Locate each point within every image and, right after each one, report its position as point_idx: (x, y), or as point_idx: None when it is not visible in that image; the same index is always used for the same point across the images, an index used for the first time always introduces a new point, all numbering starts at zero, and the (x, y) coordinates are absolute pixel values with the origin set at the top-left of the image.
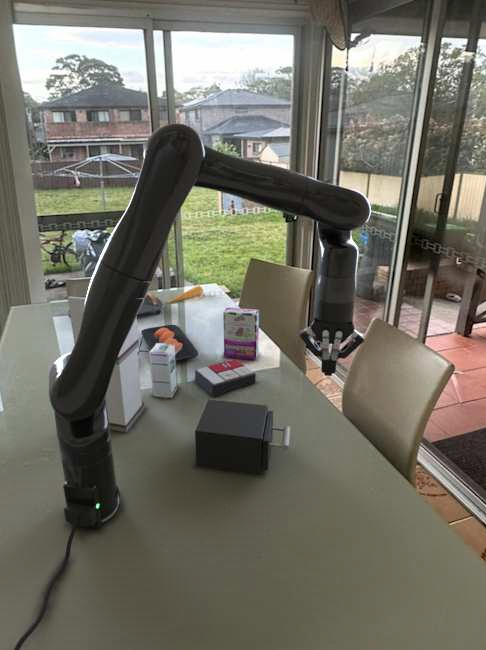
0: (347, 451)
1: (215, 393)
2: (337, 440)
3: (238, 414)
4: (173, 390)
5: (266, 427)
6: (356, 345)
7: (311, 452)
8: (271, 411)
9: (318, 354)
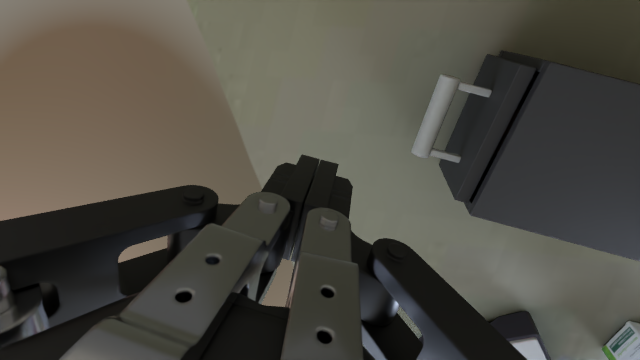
0: (282, 116)
1: (524, 317)
2: (294, 151)
3: (577, 185)
4: (627, 339)
5: (502, 129)
6: (11, 231)
7: (359, 118)
8: (461, 197)
9: (382, 247)
